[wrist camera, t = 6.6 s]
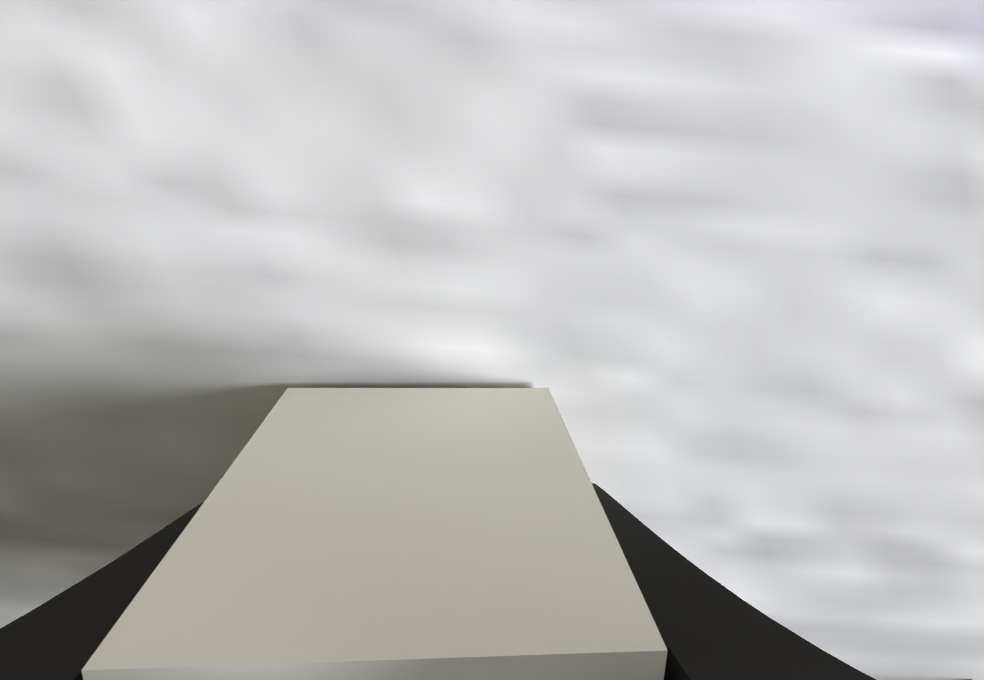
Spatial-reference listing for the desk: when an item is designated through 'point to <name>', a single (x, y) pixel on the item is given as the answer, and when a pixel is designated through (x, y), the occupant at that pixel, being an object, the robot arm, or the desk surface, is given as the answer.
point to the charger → (394, 553)
